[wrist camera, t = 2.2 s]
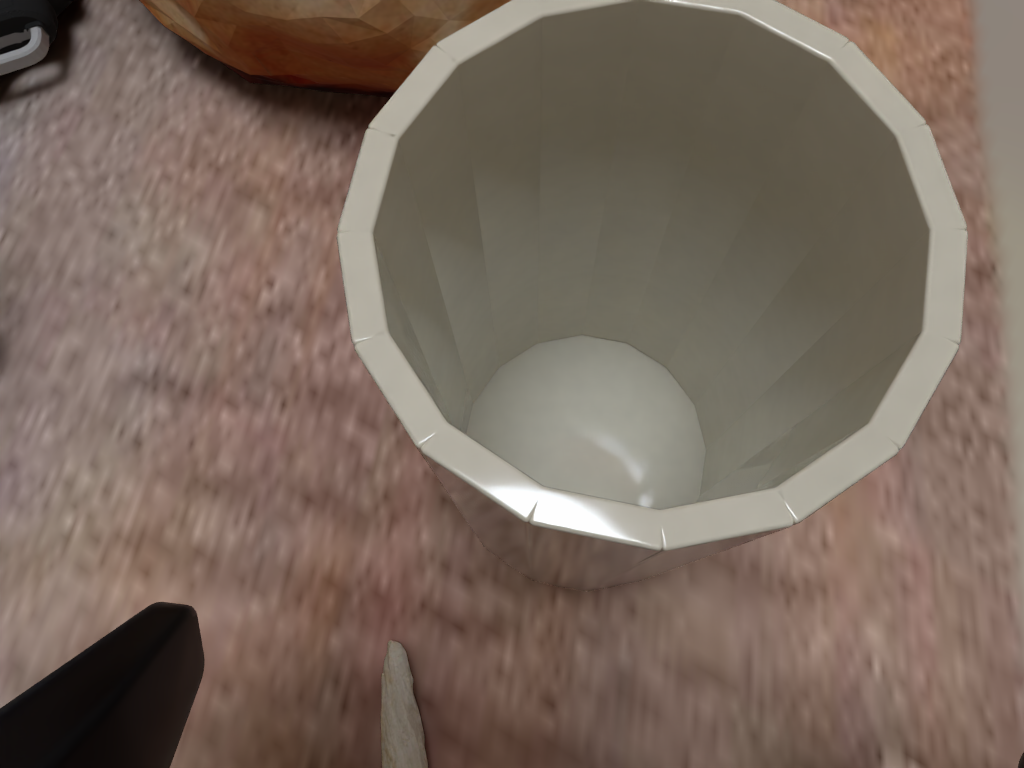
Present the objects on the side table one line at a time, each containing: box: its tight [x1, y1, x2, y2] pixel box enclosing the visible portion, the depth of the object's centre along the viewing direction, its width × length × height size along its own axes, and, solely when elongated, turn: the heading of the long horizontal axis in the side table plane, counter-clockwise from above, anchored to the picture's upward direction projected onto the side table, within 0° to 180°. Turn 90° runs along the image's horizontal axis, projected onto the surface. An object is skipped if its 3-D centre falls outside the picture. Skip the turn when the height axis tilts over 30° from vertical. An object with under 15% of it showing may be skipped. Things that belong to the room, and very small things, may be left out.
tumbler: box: [337, 0, 968, 592], centre depth 15 cm, size 7×7×12 cm
